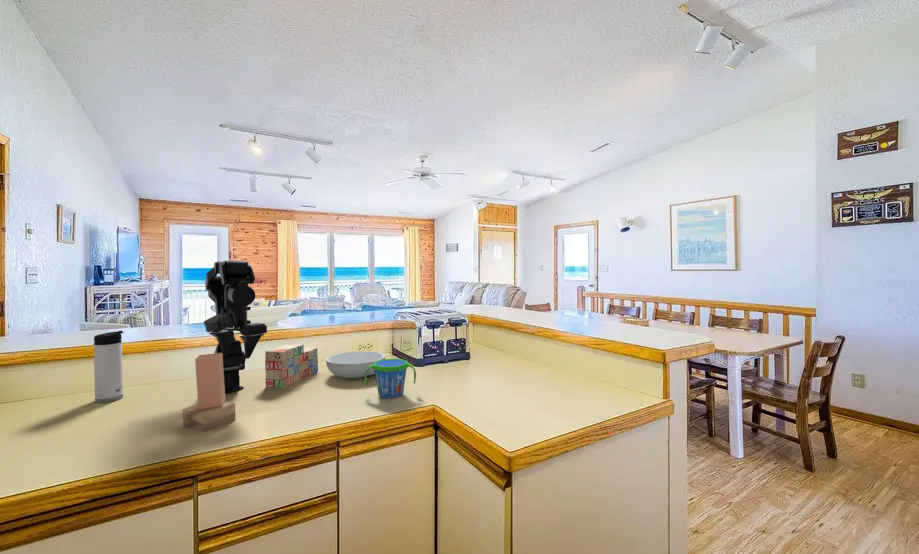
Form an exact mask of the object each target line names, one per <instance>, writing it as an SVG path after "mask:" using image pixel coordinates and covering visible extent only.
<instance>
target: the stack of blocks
mask: <svg viewBox="0 0 919 554" xmlns="http://www.w3.org/2000/svg"><path fill="white" fill-rule="evenodd" d="M318 353H319V352H318V347H306V346H304V344H302V343H301V344H300V343H299V344H298V343H297V344H296V343H294V344H293V343H287V344H284V345H281V346H277V347H275V348H272V349H268V350H266V351H265V361H264V363H265V367H264V368H265V369H264V370H265V388H266V387H267V388H266V389H277V390H278V389H280V390H282V389H285V388H287V387H289V386H291V385H293V384H296V383H298V382H300V381H301V380H304V379H307V378H308V377H310V376H312V375H314V374H316V373H319V356H318V355H319V354H318Z"/></svg>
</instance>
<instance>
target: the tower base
mask: <svg viewBox="0 0 919 554" xmlns="http://www.w3.org/2000/svg"><path fill="white" fill-rule="evenodd" d="M182 421H183V422H182V426H183V427H184V426H185V428H188V427H189V428H188V429H192V428H193V429H194V430H197V431H202V432H208V431H210V430H213V429H215V428H218V427H221V426H223V425H227V424H228V423H230V422H234V421H236V412H235V413H233V414H230V415H228V416H225V417H223V418H220V419H218V420H215V421H212V422H210V423H207V424H203V423H198V422H193V421H188V420H183V419H182Z"/></svg>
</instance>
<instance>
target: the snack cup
mask: <svg viewBox="0 0 919 554" xmlns="http://www.w3.org/2000/svg"><path fill="white" fill-rule="evenodd" d="M370 368H373V369H374V376H375V381H376V388H377V394H378V396H380V397H381V398H384V399H392V398H398V397H401V396H402V395H404V390H405V383H406V375H407V373H406V372H407V370H408V369H407V368H411V369H412V370H413V385H415V384H416V380H417V371H416V368H415V366H413V364H411V363H410V362H409V361H408V360H405V359H402V358H385V359H384V360H379V361H376V362H374V363H373V364H372V365H371V366H369V367H368V369H367V370H366V373H365V377H364V383H365V386H368V385H369V382H368V376H367V372H368V370H369V369H370Z"/></svg>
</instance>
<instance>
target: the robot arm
mask: <svg viewBox="0 0 919 554" xmlns="http://www.w3.org/2000/svg"><path fill="white" fill-rule="evenodd" d="M254 273H255V272H254V269H253V268H252V265H251V264H249V261H248V260H223V261H215V262H214V263H213V267H212V268H211V269H210V270H208V272H207V273H206V276H205V282H204V285H205V286H204V287H205V291H207V295H208V298H209V299H210V300H211V301H212V302H214V308H215V315H213V316H212V317H210V318H207V319H205V320H204V321H203V324H204V327H205V332H207V333H208V334H209V335H211V336H213V337H214V338H215V339H216V340H217V342H218V344H217V346H216V347H215V349H214V353H213V354H215V353H222V354H223V370H224V385H225V395H226V394H228V393H229V394H230V393H233V392H235V391H238V390H243V389H244V386H242V385H240V383H241V381H240V380H241V379H240V371H244V370H245V369H246V360H247V359H251V357H252V354H253V353H254V351H255V348H256V346H257V344H258V343H259V341H260V339H261V337H263V336H264V335H265V334H267V333H268V325H266V323H264V322H263V323H262V322H254V323H253V322H252V321H251V320H249V319H248V311H251V310H252V309H251V306H250V305H251V304H253V303H254V301H255V299H256V293H255V290H254V289H253V288H252V287H251V286H249V285H254V284H255V281H256V276H255V274H254ZM218 275H219V276H218ZM234 331H235V332H239V333H240V334H241V335H239V338H240V339H241V340H242V342H243V347H244V350H243V348H242V343H241V341H240V340H237V339H236V337H235V332H234Z"/></svg>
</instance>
